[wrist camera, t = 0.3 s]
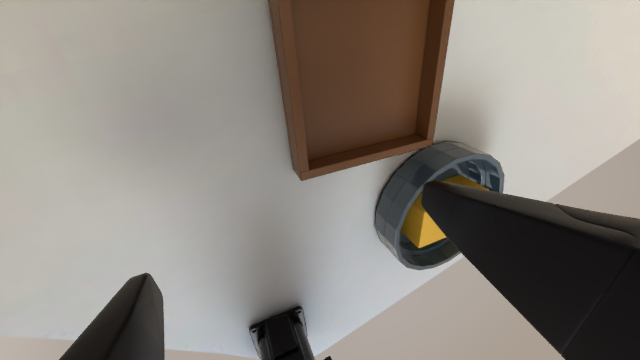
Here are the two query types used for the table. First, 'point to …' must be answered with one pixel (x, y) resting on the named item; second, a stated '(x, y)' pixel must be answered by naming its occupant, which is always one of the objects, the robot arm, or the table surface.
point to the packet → (428, 217)
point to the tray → (359, 78)
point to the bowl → (409, 183)
